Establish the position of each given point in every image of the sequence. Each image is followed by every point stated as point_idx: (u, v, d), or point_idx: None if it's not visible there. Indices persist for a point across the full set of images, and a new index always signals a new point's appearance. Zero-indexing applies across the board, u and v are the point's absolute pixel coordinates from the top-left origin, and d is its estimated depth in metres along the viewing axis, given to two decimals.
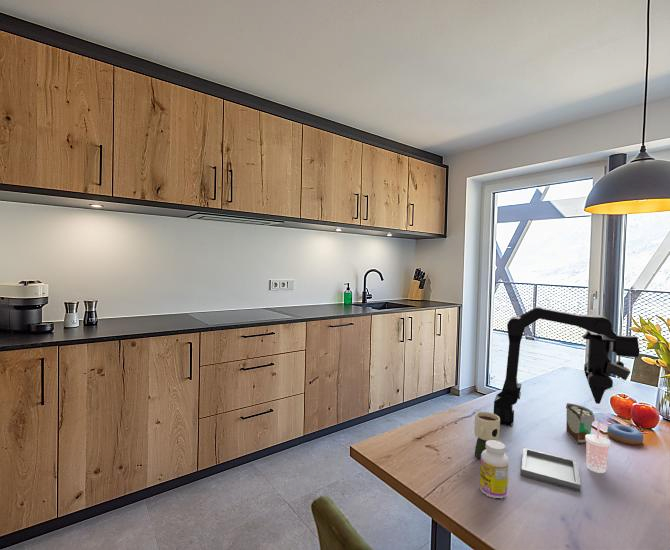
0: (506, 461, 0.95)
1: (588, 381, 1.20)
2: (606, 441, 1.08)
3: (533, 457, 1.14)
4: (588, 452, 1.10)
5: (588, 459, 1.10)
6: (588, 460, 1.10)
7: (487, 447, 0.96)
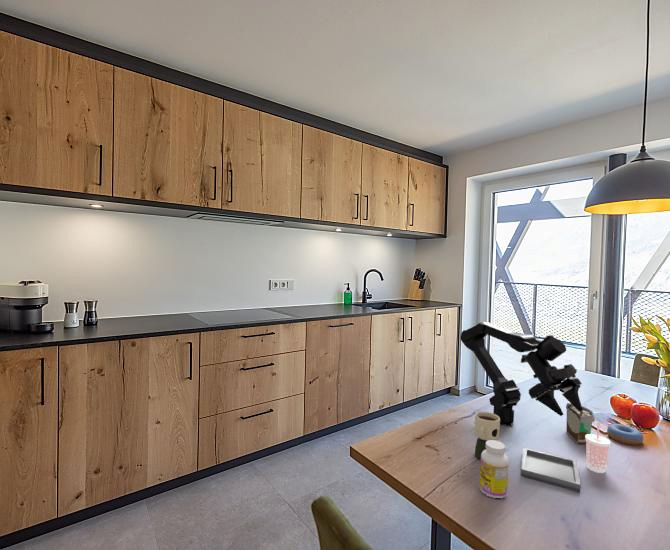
0: (506, 461, 0.95)
1: (533, 397, 1.20)
2: (606, 441, 1.08)
3: (533, 457, 1.14)
4: (588, 452, 1.10)
5: (588, 459, 1.10)
6: (588, 460, 1.10)
7: (487, 447, 0.96)
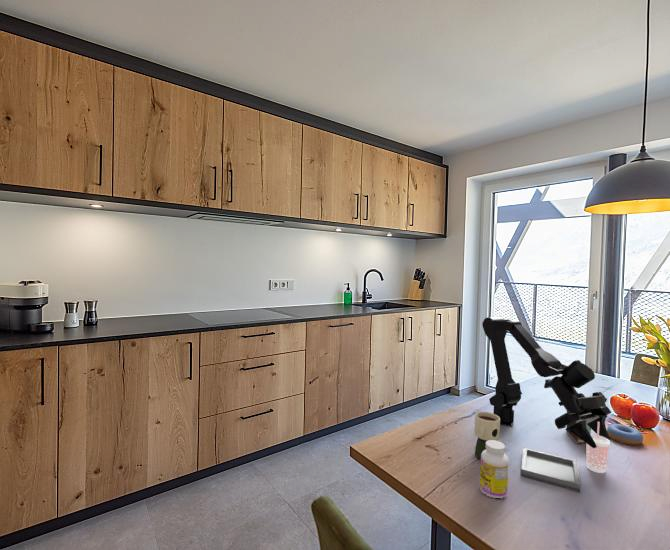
0: (506, 461, 0.95)
1: None
2: (606, 441, 1.08)
3: (533, 457, 1.14)
4: (588, 452, 1.10)
5: (588, 459, 1.10)
6: (588, 460, 1.10)
7: (487, 447, 0.96)
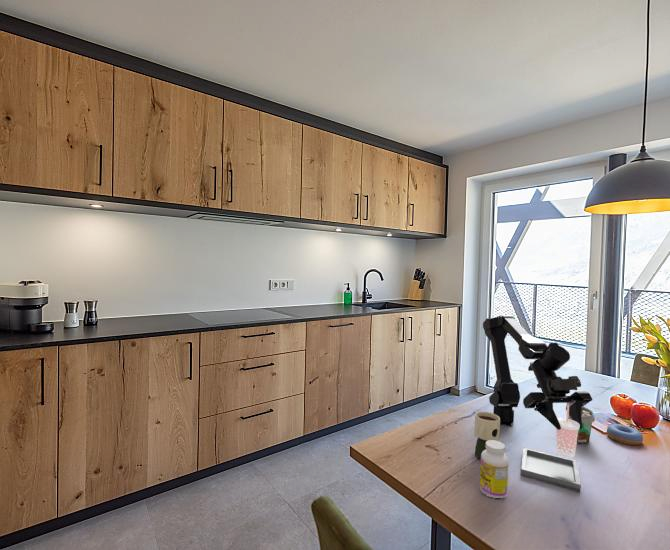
0: (506, 461, 0.95)
1: None
2: (575, 425, 1.06)
3: (533, 457, 1.14)
4: (556, 435, 1.08)
5: (556, 442, 1.08)
6: (556, 443, 1.08)
7: (487, 447, 0.96)
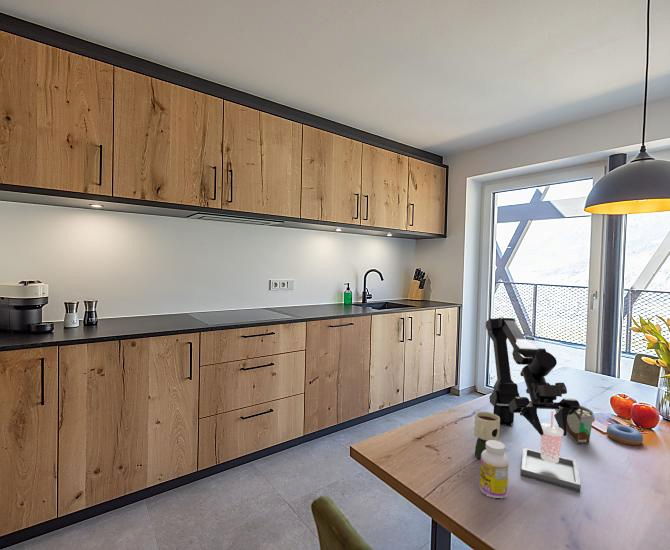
0: (506, 461, 0.95)
1: None
2: (558, 431, 1.06)
3: (533, 457, 1.14)
4: (540, 440, 1.09)
5: None
6: None
7: (487, 447, 0.96)
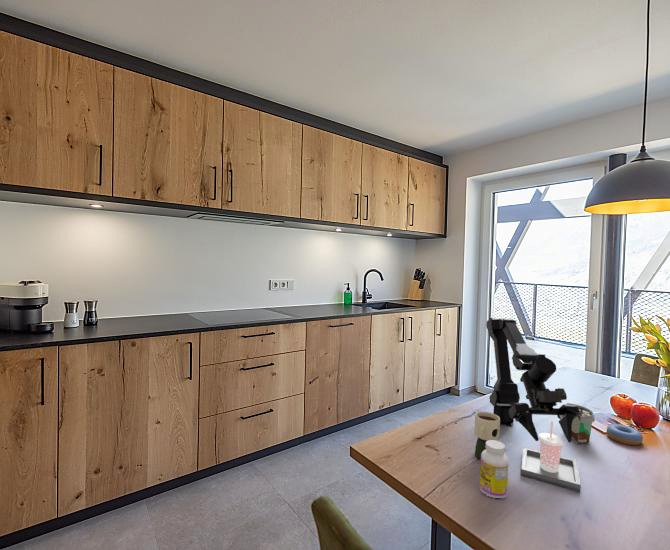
0: (506, 461, 0.95)
1: None
2: (558, 441, 1.06)
3: (533, 457, 1.14)
4: (540, 449, 1.09)
5: (540, 456, 1.09)
6: (540, 457, 1.09)
7: (487, 447, 0.96)
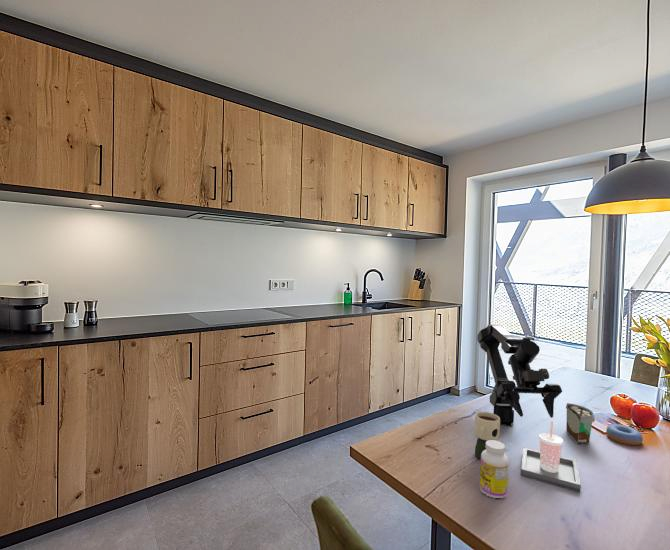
0: (506, 461, 0.95)
1: None
2: (558, 441, 1.06)
3: (533, 457, 1.14)
4: (540, 449, 1.09)
5: (540, 456, 1.09)
6: (540, 457, 1.09)
7: (487, 447, 0.96)
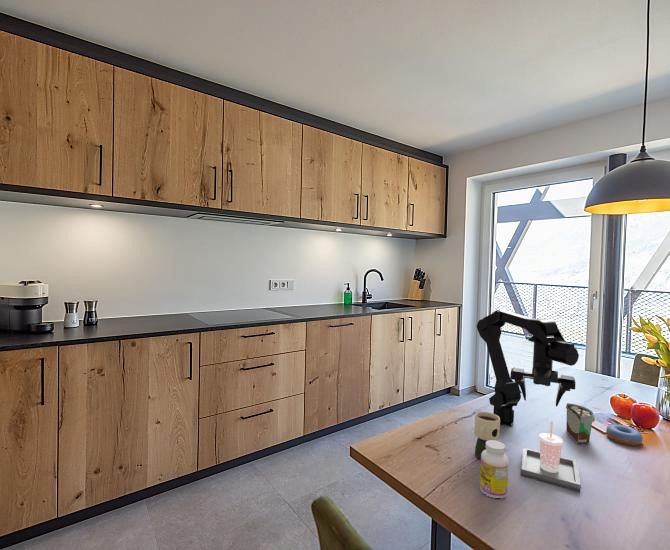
0: (506, 461, 0.95)
1: None
2: (558, 441, 1.06)
3: (533, 457, 1.14)
4: (540, 449, 1.09)
5: (540, 456, 1.09)
6: (540, 457, 1.09)
7: (487, 447, 0.96)
